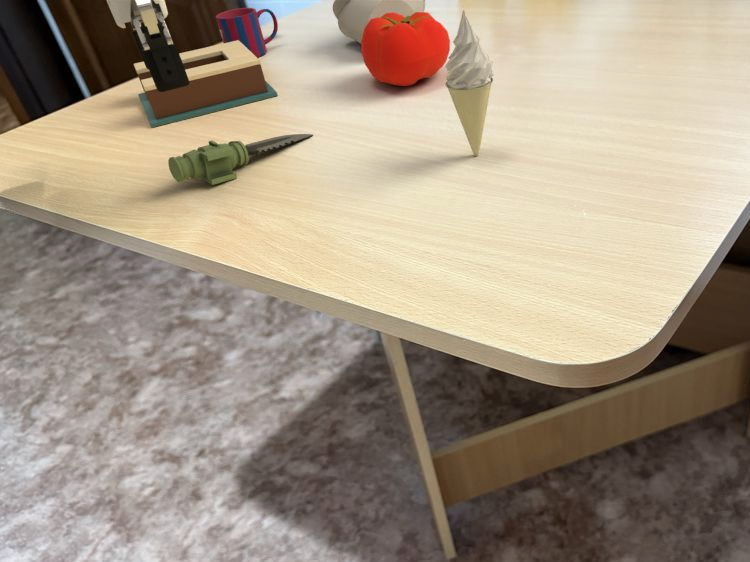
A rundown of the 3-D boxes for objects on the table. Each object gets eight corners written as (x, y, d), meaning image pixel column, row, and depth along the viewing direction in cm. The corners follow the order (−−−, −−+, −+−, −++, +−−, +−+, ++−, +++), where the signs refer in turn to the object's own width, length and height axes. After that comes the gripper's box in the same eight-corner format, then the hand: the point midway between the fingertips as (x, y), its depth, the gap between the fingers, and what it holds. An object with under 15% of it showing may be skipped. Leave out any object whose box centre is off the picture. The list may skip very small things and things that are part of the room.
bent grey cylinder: (315, 33, 121) (359, 56, 107) (313, -35, 116) (359, -20, 101) (406, 34, 129) (458, 56, 115) (408, -30, 124) (463, -15, 110)
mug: (224, 56, 121) (211, 14, 117) (278, 42, 124) (267, 1, 120) (234, 64, 116) (220, 20, 112) (290, 50, 119) (279, 7, 115)
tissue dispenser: (151, 128, 95) (136, 90, 92) (139, 97, 107) (125, 63, 104) (277, 95, 100) (268, 59, 97) (253, 70, 112) (243, 37, 109)
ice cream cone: (484, 167, 74) (470, 17, 65) (445, 161, 76) (426, 15, 67) (507, 149, 77) (497, 3, 68) (469, 143, 80) (454, 2, 70)
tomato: (471, 81, 97) (465, 13, 91) (388, 103, 93) (376, 34, 88) (432, 59, 107) (424, -3, 101) (355, 78, 103) (343, 14, 98)
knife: (158, 146, 76) (181, 159, 73) (298, 114, 87) (323, 124, 84) (166, 180, 78) (188, 194, 75) (301, 144, 89) (325, 154, 87)
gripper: (49, -113, 67) (124, 67, 78) (51, -105, 55) (140, 108, 66) (128, -126, 70) (190, 51, 80) (147, -121, 57) (218, 87, 68)
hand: (167, 76), depth 73 cm, fingers open, 9 cm apart
